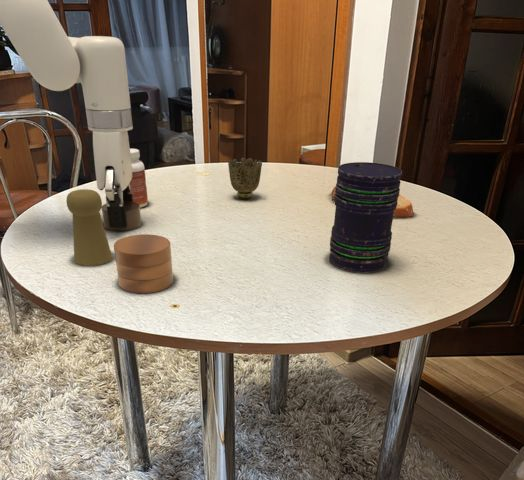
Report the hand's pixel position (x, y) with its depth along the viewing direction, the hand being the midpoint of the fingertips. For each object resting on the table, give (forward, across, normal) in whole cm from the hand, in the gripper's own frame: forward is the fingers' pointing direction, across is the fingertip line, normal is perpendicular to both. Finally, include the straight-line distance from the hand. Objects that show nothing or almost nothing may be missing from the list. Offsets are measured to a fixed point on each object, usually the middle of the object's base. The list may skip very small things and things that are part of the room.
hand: (122, 219), depth 98 cm
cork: (+1, +17, -2) cm, 17 cm away
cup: (+1, -19, +24) cm, 31 cm away
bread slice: (+1, -15, +52) cm, 54 cm away
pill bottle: (+1, -13, 0) cm, 13 cm away
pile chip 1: (-3, +26, +8) cm, 27 cm away
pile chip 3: (+1, +26, +8) cm, 27 cm away
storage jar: (+1, +18, +42) cm, 46 cm away
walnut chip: (+1, 0, 0) cm, 1 cm away
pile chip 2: (-1, +26, +8) cm, 27 cm away
